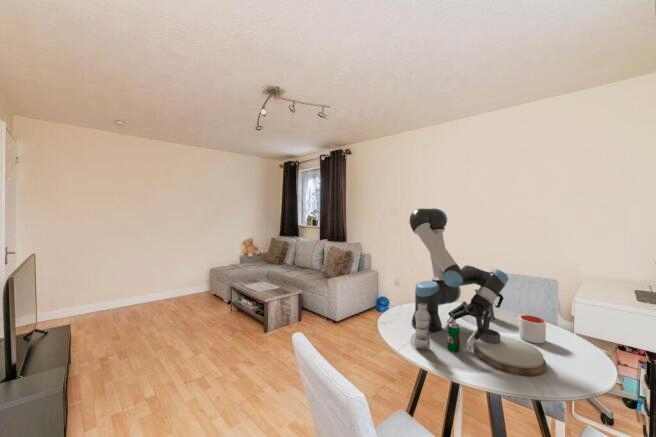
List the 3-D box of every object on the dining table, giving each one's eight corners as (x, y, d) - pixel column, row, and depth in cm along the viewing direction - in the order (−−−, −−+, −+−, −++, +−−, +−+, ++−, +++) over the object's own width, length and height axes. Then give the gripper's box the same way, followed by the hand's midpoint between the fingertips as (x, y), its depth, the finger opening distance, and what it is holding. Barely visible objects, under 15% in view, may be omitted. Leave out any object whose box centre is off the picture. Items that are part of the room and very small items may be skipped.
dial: (555, 359, 105) (555, 346, 105) (522, 375, 95) (522, 360, 95) (493, 334, 127) (493, 323, 127) (461, 344, 117) (461, 332, 117)
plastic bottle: (418, 343, 123) (418, 300, 123) (432, 348, 118) (433, 304, 118) (411, 348, 119) (412, 304, 118) (426, 353, 114) (426, 308, 113)
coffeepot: (470, 315, 156) (470, 285, 156) (477, 311, 162) (478, 283, 162) (499, 324, 144) (500, 291, 144) (506, 320, 150) (506, 288, 149)
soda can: (445, 347, 119) (445, 321, 119) (455, 347, 119) (455, 320, 119) (451, 353, 114) (451, 326, 114) (462, 352, 114) (462, 325, 114)
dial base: (471, 362, 107) (471, 356, 107) (476, 338, 128) (476, 333, 128) (550, 384, 93) (550, 378, 93) (542, 353, 114) (542, 348, 114)
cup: (550, 345, 121) (550, 324, 121) (525, 343, 123) (526, 322, 123) (537, 335, 131) (538, 315, 130) (515, 333, 132) (515, 314, 132)
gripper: (514, 314, 108) (486, 356, 104) (466, 296, 132) (441, 330, 128) (504, 303, 107) (475, 345, 103) (457, 286, 131) (432, 320, 126)
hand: (456, 336), depth 115 cm, fingers open, 13 cm apart
